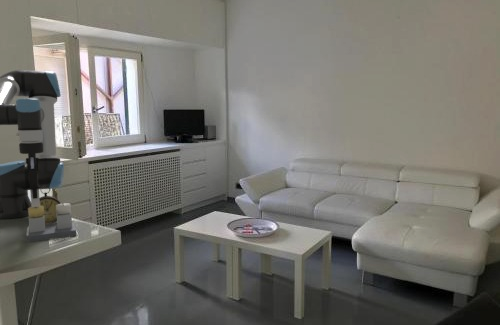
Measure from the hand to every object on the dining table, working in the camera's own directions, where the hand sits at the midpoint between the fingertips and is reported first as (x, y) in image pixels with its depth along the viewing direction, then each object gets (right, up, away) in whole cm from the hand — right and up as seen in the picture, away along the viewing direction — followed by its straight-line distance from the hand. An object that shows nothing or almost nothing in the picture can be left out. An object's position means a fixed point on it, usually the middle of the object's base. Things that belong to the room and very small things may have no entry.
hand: (35, 206), depth 144 cm
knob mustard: (0, -8, +1) cm, 8 cm away
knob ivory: (+8, -8, +5) cm, 12 cm away
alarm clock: (-2, -9, +14) cm, 17 cm away
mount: (+4, -10, +4) cm, 12 cm away
